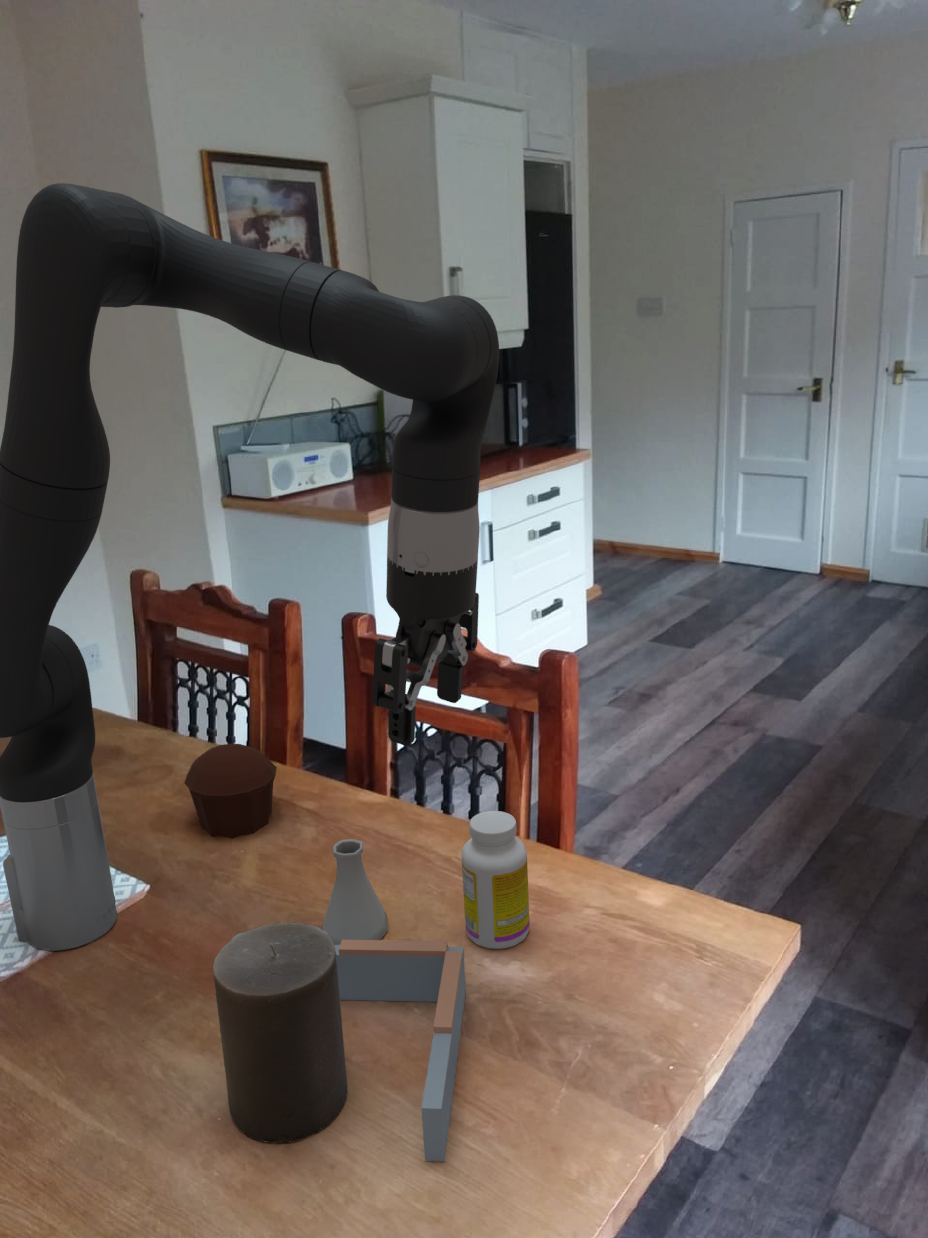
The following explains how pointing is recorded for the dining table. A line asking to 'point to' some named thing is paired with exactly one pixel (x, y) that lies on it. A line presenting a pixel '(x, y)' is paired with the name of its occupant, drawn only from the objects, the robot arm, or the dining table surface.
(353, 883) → the flask
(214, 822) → the muffin
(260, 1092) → the pillar candle
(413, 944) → the corner arena
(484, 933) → the supplement bottle
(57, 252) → the robot arm
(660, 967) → the dining table surface
